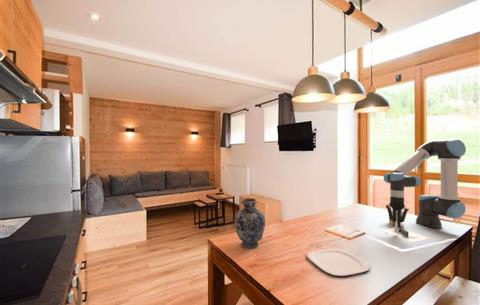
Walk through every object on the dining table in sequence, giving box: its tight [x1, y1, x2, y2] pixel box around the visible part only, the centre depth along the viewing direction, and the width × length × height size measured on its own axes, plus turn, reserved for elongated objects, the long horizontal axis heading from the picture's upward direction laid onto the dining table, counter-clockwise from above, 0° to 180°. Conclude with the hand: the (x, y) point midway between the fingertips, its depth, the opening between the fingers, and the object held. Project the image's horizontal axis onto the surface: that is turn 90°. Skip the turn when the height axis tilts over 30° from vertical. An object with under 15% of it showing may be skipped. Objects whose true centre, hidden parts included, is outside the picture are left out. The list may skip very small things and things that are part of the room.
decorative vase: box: [234, 196, 266, 250], centre depth 137 cm, size 21×19×28 cm
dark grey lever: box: [399, 222, 409, 236], centre depth 150 cm, size 13×5×5 cm, turn 166°
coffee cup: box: [388, 208, 404, 226], centre depth 169 cm, size 9×9×12 cm
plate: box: [306, 248, 371, 277], centre depth 115 cm, size 25×25×2 cm
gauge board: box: [379, 226, 431, 243], centre depth 149 cm, size 18×22×2 cm
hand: (396, 231), depth 148 cm, fingers closed
